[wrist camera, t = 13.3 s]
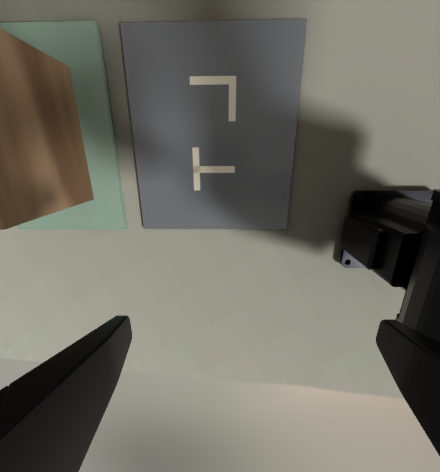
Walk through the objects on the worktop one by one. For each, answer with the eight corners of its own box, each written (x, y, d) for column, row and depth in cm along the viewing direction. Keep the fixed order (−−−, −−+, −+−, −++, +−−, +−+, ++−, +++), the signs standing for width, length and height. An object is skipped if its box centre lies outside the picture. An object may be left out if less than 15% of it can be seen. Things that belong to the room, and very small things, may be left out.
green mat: (98, 24, 15) (94, 20, 15) (127, 227, 20) (124, 229, 20) (-34, 27, 16) (-42, 23, 15) (24, 227, 20) (19, 228, 20)
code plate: (305, 20, 15) (306, 18, 15) (286, 228, 20) (286, 229, 19) (121, 23, 15) (119, 22, 15) (144, 227, 20) (143, 228, 20)
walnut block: (69, 66, 16) (-75, -13, 8) (94, 199, 19) (4, 229, 11) (3, 68, 16) (-198, -9, 8) (38, 199, 19) (-88, 229, 11)
